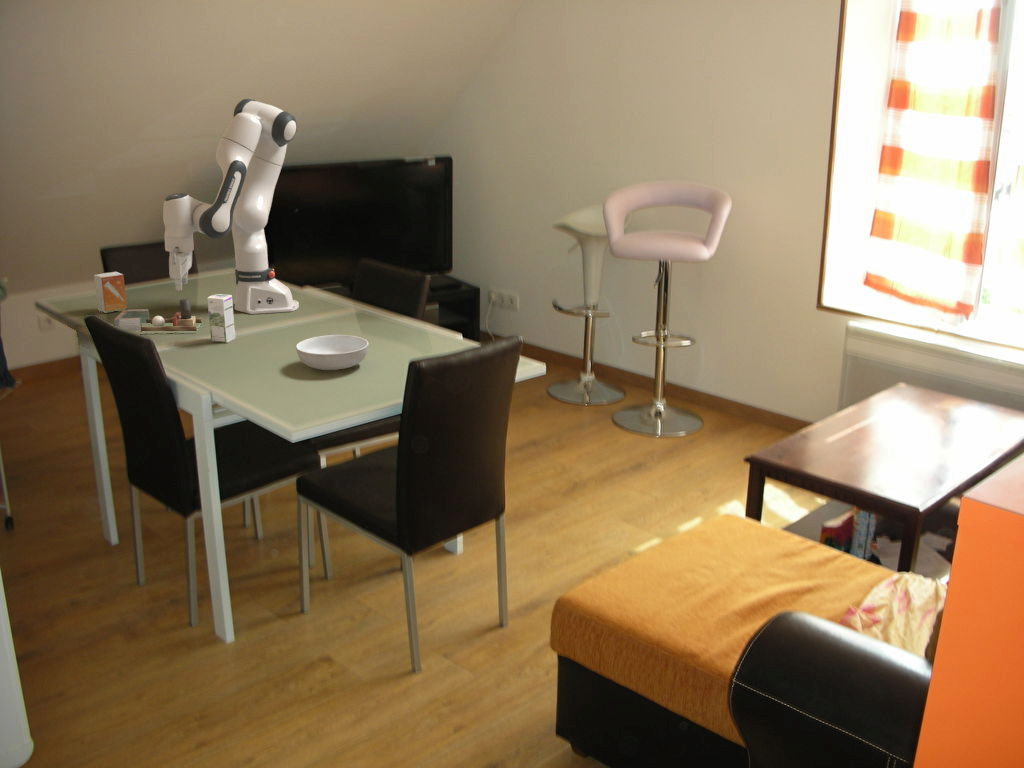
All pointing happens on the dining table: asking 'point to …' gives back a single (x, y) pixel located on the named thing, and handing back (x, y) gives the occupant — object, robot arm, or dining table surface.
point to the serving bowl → (332, 351)
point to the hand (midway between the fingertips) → (181, 286)
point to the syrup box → (221, 318)
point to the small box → (110, 291)
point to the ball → (158, 321)
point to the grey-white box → (132, 319)
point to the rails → (171, 328)
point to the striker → (184, 315)
